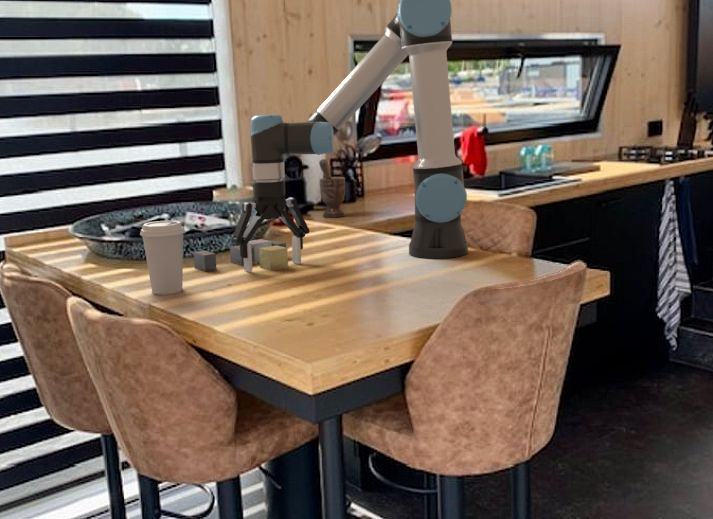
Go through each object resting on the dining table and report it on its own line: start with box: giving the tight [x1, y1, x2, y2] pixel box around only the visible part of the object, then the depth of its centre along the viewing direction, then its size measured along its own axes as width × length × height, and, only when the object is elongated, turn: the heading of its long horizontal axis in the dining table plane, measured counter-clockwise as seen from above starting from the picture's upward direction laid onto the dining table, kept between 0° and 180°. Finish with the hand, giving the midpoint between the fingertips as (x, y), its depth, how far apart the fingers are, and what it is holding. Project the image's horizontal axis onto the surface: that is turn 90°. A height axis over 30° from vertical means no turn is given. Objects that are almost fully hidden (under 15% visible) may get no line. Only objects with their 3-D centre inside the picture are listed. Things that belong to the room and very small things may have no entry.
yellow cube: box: [259, 245, 289, 272], centre depth 206 cm, size 5×5×5 cm
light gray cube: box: [248, 238, 272, 264], centre depth 216 cm, size 5×5×5 cm
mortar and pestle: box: [319, 158, 346, 219], centre depth 285 cm, size 12×9×20 cm
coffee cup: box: [139, 220, 186, 296], centre depth 184 cm, size 10×10×15 cm
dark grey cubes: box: [193, 239, 287, 272], centre depth 213 cm, size 6×23×4 cm, turn 126°
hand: (273, 267), depth 207 cm, fingers open, 13 cm apart
